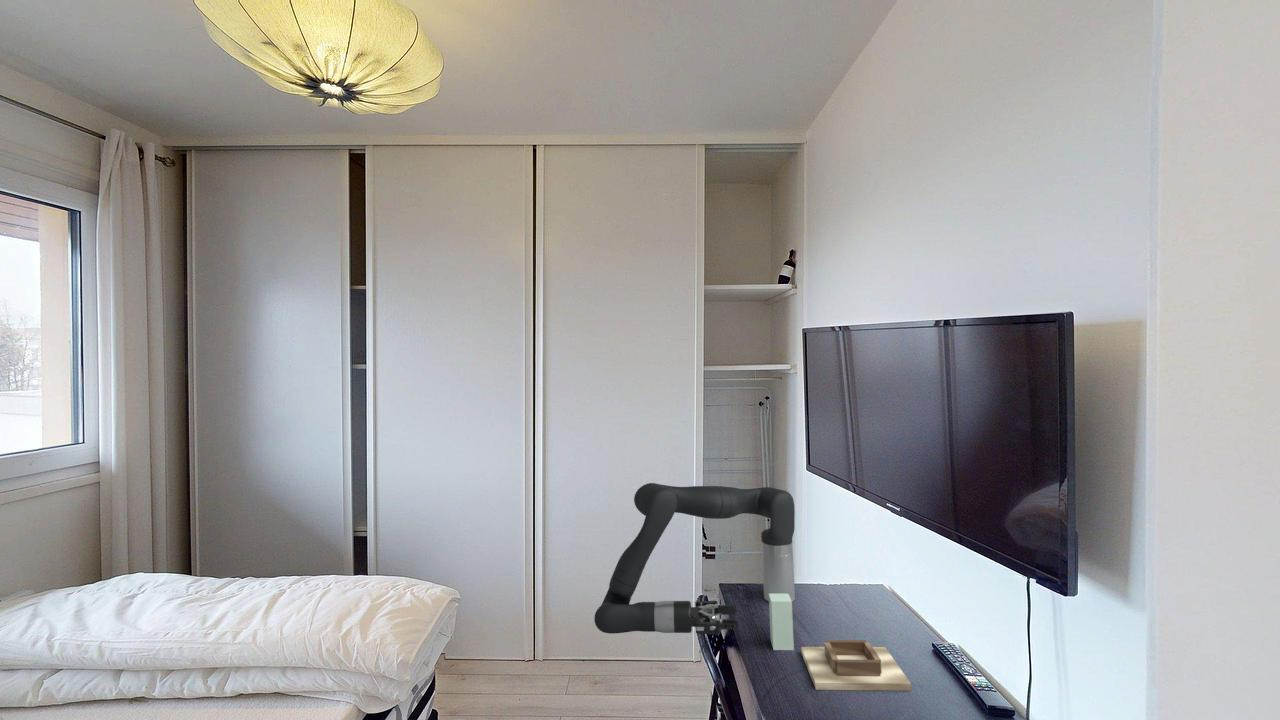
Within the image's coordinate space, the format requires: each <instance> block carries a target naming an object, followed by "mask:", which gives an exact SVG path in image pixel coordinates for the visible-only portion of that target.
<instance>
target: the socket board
mask: <svg viewBox="0 0 1280 720" xmlns="http://www.w3.org/2000/svg"><path fill="white" fill-rule="evenodd" d="M823 644H824V646H800V650H801V651H800V653H801V656H802V658H803V661H804V663H805V666H806V669H807V671H808V673H809V676H810V678H811V681H812V683H813V686H814V688H815V691H816V690H817V691H821V690H822V691H889V692H890V691H893V692H895V691H900V692H905V691H906V692H909V691H910V692H912V683H911V681H910V680H909V679H908V677H907V676H906V674H905V673H904V671H903V670H902V669H901V668H900V666H899V664H898V663H897V662H896V660H895V659H894V658H893V656H892V655H891V653H890V651H888V649H887V648H886V647H885V646H883V647H882V646H878V647H877V646H872V644H871V643H870V642H867V641H866V639H826V640H825V641H824V643H823Z"/></svg>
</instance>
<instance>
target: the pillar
mask: <svg viewBox="0 0 1280 720" xmlns="http://www.w3.org/2000/svg"><path fill="white" fill-rule="evenodd" d="M768 607H769V609H768V610H769V631H770V643H771V646H772V648H773V649H772V650H773V651H795V648H794V647H795V645H794V644H795V642H794V641H795V640H794V622H793V619H794V618H793V602H792V601H791V598H790V596H789V594H769V601H768Z"/></svg>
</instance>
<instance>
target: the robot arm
mask: <svg viewBox="0 0 1280 720" xmlns="http://www.w3.org/2000/svg"><path fill="white" fill-rule="evenodd" d="M633 501H634V502H633V503H634V507H636V509H637V511H638V512H639V513H640V514H641V515H643V516H645V518H644V521H643V524H642V526H641V529H640V531H639V532H638V534H637V535H636V536H635V539H634V540H633V541H632V542H631V543H630V544H629V545H628V546H627V548H626V549H624V550H623V552H622V554H621V556H620V557H619V559H618V560H617V564H616V566H615V568H614V570H613V573H612V576H611V577H610V581H609V585H608V590H607V592H606V594H605V596H604V598H603V601H602V602H601V604H600V606H599V607H598V608H597V609H596V611H595V613H594V624H595V626H596V628H597V629H598V631H600V632H602V633H605V634H624V633H631V632H642V633H643V632H645V633H647V632H648V633H650V632H651V633H653V632H654V633H655V632H656V633H662V634H666V633H667V634H690V633H692V631H693V629H692V628H694V627H695V634H698V635H721V632H723V630H739V629H738V628H739V623H738V622H739V621H738V619H736V618H727V619H726V618H725V619H723V618H722V619H721V618H718V617H717V616H720V615H724V616H727V615H730V616H731V615H732V616H733V615H736V606H735V604H721V603H719V602H718V600H695V601H694V606H692V603H691V601H690V600H659V601H641V602H640V601H639V602H635V603H632V604H630V603H631V600H632V597H633V595H634V593H635V591H636V589H637V586H638V584H639V582H640V579H641V576H642V574H643V571H644V570H645V567H646V564H647V563H648V561H649V558H650V556H651V555H652V552H653V551H654V549H655V548H656V545H657V544H658V542H659V541H660V539H661V537H662V535H663V533H664V532H665V530H666V529H667V527H668V526H669V524H670V521H671V520H672V519H673V517H674V515H675V513H677V514H684V515H688V516H693V517H698V518H704V519H712V520H714V519H717V520H718V519H720V520H721V519H730V518H734V517H736V516H739V515H742V514H748V515H757V516H762V517H764V518H768V519H769V523H770V524H769V528H767V529H766V528H765V529H763V530H762V531H761V536H760V537H761V555H762V556H761V559H762V560H761V561H762V582H763V583H762V584H763V599H764V600H765V601H767V602H769V594H789V596H790V598H791V601H792V603H793V602H794V601H795V600H796V598H795V597H796V594H795V593H796V592H795V591H796V590H795V571H794V569H795V568H794V567H795V566H794V548H793V546H794V545H793V538H794V537H793V536H794V532H795V527H796V526H795V524H796V523H795V515H796V513H795V508H796V507H795V501H794V497H793V496H792V494H791V493H790V492H789V491H787V490H784V489H779V488H776V487H775V488H774V487H770V486H766V487H765V486H764V487H756V488H755V487H754V488H746V489H745V488H739V487H733V486H732V487H731V486H723V485H721V486H720V485H701V486H700V485H697V486H696V485H694V486H673V485H667V484H666V485H665V484H659V483H655V482H649V483H646V484H643V485H642V486H640V487H639V488H638V489H637V491H636V492H635V493H634V497H633Z"/></svg>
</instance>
